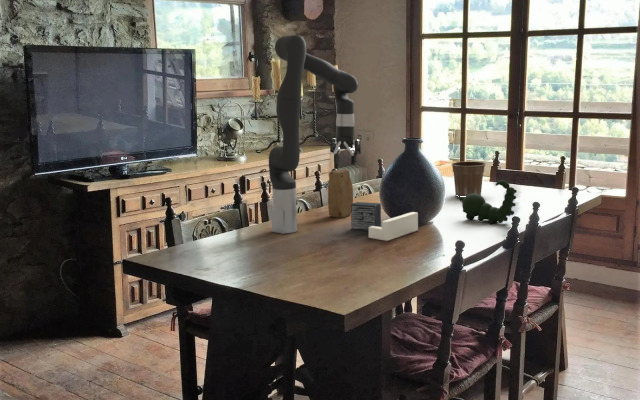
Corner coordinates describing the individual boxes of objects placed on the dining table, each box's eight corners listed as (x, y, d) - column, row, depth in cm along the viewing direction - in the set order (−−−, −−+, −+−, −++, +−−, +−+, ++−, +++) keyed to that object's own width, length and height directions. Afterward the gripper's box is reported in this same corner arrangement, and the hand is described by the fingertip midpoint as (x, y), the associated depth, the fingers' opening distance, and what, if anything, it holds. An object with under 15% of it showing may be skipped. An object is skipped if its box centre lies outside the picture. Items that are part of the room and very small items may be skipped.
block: (340, 219, 291) (339, 172, 287) (326, 216, 296) (325, 170, 292) (355, 214, 299) (355, 169, 295) (342, 212, 304) (341, 167, 300)
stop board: (387, 240, 253) (387, 222, 251) (368, 237, 258) (368, 219, 257) (417, 230, 268) (417, 212, 267) (399, 227, 273) (399, 210, 272)
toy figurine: (516, 227, 277) (461, 214, 293) (521, 181, 272) (466, 170, 288) (504, 231, 270) (450, 218, 286) (510, 184, 265) (454, 173, 281)
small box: (381, 228, 272) (381, 202, 270) (376, 232, 266) (376, 205, 264) (357, 226, 276) (356, 200, 274) (350, 230, 271) (350, 203, 269)
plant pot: (451, 199, 329) (451, 165, 326) (450, 193, 345) (450, 161, 342) (485, 199, 327) (486, 165, 324) (483, 193, 342) (484, 161, 339)
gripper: (326, 124, 286) (326, 163, 288) (353, 126, 277) (353, 166, 279) (337, 123, 291) (337, 161, 294) (364, 125, 282) (364, 164, 285)
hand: (345, 163), depth 287 cm, fingers open, 8 cm apart
